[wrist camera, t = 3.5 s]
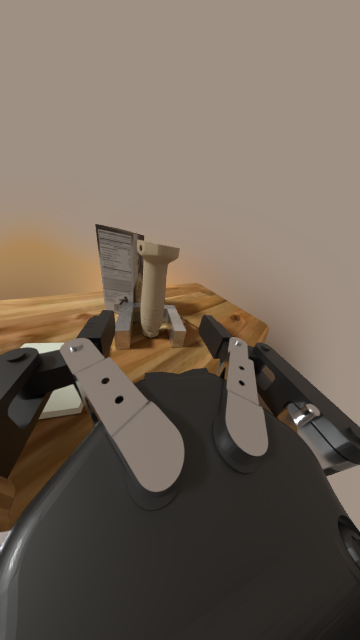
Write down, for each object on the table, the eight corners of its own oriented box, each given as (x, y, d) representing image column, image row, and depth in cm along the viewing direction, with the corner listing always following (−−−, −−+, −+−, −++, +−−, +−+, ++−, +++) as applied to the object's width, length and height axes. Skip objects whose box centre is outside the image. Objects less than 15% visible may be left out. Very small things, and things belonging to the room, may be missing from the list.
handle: (152, 322, 28) (159, 244, 21) (170, 339, 24) (186, 250, 17) (131, 328, 25) (130, 238, 18) (147, 348, 21) (155, 243, 14)
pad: (-62, 434, 10) (-73, 428, 9) (28, 349, 17) (25, 343, 16) (80, 412, 12) (78, 407, 12) (104, 347, 20) (103, 342, 19)
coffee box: (119, 297, 36) (115, 228, 28) (142, 301, 37) (145, 235, 29) (104, 312, 28) (92, 222, 20) (134, 316, 29) (134, 231, 21)
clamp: (115, 349, 20) (113, 330, 18) (124, 316, 28) (123, 302, 26) (182, 347, 23) (186, 331, 21) (172, 318, 31) (174, 305, 29)
